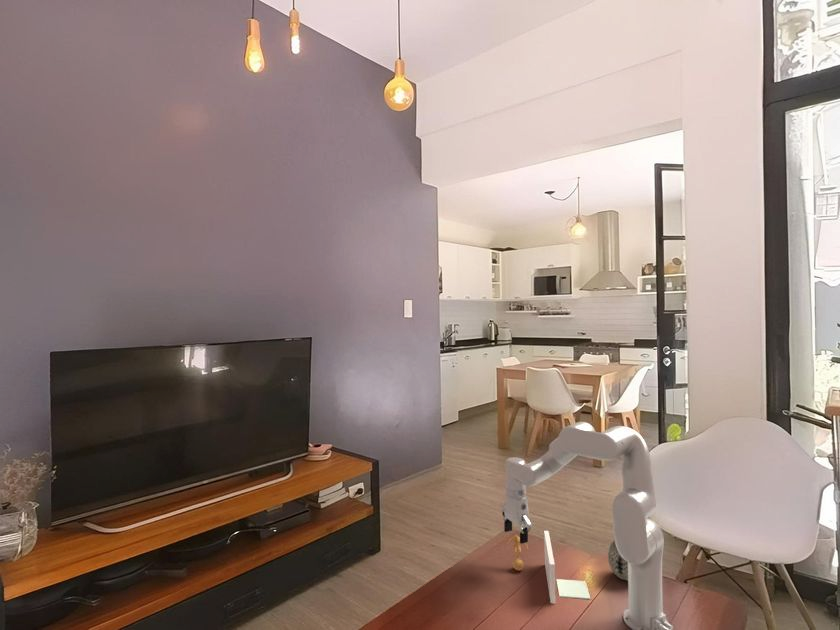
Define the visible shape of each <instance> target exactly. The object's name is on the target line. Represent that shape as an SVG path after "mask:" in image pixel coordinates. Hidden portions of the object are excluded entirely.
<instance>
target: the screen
mask: <svg viewBox="0 0 840 630" xmlns="http://www.w3.org/2000/svg"><path fill="white" fill-rule="evenodd" d="M543 531H544V532H543V538H544V541H543V543H544V544H543V545H544V566H545V574H546V580H547V581H546V582H547V587H548V588H547V589H548V595H549V601H550V604H553V605H554V604H556V571H555V570H556V565H555V559H554V555H553V554H554V552H553V548H552V542H551V537H550V532H549V530H543Z"/></svg>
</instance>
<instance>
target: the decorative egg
mask: <svg viewBox="0 0 840 630" xmlns="http://www.w3.org/2000/svg"><path fill="white" fill-rule="evenodd" d="M607 556H608V557H607V559H608V564H609V567H610V569H611V571H612V572H613V574H614V575H616V577H617V578H619V579H621V580H622V581H627V582H628V562H627V561H625V560H624V559H623V558H622V557H621V555H620V554H619V552H618V550H617V547H616V543H615V539H613V541H611V543H610V545H609V548H608V554H607Z"/></svg>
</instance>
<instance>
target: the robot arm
mask: <svg viewBox="0 0 840 630" xmlns="http://www.w3.org/2000/svg"><path fill="white" fill-rule="evenodd" d="M650 455H651V454H650V450H649V447H648V445H647V443H646V441H645V439H644V438H643V437H642V435H641V434H640V433H638V432H637V431H636V430H634V429H633V428H631V427H629V426H624V425H616V426H611V427H609V428H607V429H606V430H603V431H602V432H599V431H598V432H597V431H596V429H595V428H594V427H593V425H592V424H590V423H588V422H587V421H577V422H574V423H572V424H569V425H567V426H565V427H563V428H562V429H561V430H560V432H559V434H558V437H556V438H555V439H554V440H553V441H551V442H550V443H549V446H548V450H547V452H545V454H543V455H542V456H540V457H539V458H538V459H535V460H533V461H531V462H529V463H528V462H527V463H526V461H525V460H524V459H523V458H520V457H517V456H516V457H513V456H512V457H508V458H507V459H506V460H505V469H504V472H505V473H504V474H505V478H504V479H505V493H504V505H502V506H501V507H500V508H501V511H502V516H503V518H502V519H503V521H504V524H503V525H504V527H503V529H504V532H505V533H508V532H512V531H513V524H514V525H516V526H517V527H518V528H519V531H520V532H519V537H520V541H519V544H525V543H526V544H527V543H528V542H529V536H528V535H529V532H530V531H531V528H532V522H530V512H529V511H530V510H529V502H528V498H527V493H526V492H527V487H534V486H536V485H538V484H541V483H542V482H544V481H546V480H547V479H550V478H551V477H552V476H554V475H555V474H556V473H558V472H559V471H561V469H563V468H564V467H565V466H567V465H568V464H569V463H570V462H571V461H573V460H574V459H575V458H576V457H577V456H579V457H584V458H588V459H593V460H594V459H595V460H597V461H598V460H599V461H603V462H604V461H606V462H608V461H613V460H615V459H618V458H619V457H621V456H622V457H621V458H622V461H621V462H622V463H621V474H622V490H621V492H619V493H617V495H616V496H615V497H614V499H613V502H612V504H611V516H612V517H611V518H612V526H613V527H612V528H613V535H614V540H615V543H616V547H617V550H618V552H619V554H620V555H621V557H622V558H623V559H624V560H625V561H627V562H628V581H627V588H628V589H627V590H628V591H627V592H628V593H627V595H628V596H627V597H628V599H627V601H628V608H627V609H625V610H624V611H623V621H624V624H625V625H626V626H627V627H629V628H630V629H631V630H674V626H673V625H672V624H671V623H669V622H668V620H667V615H666V614H665V613H664V611H663V610H664V608H663V605H664V604H663V554H664V546H665V545H664V544H665V542H664V541H665V539H664V533H663V531H662V529H661V527H660V525H659V524H658V523H657V522H655V521H654V520H653V519H651V518H649V517H650V516H651V515H652V514H654V513H655V510H656V504H657V502H656V493H655V487H654V478H653V473H652V465H651V464H652V463H651V456H650ZM523 527H524V528H523Z"/></svg>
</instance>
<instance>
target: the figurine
mask: <svg viewBox="0 0 840 630" xmlns="http://www.w3.org/2000/svg"><path fill="white" fill-rule="evenodd" d="M512 541H513V543H514V545H512V546H513V552H514V559H513V560H512V567H513V569H514V570H515V571H517V572H518V571H522V570H523V569H524V561H523V560H522V559H521V552H522V549H521V548H522V547H521V545H520V536H518V535H517V534H515V535H514V536H513V537H512V538H510V539H508V540H507V544H506V547H505V550H508V546H509V543H510V542H512ZM524 545H525V546H526V549H527V550H529V547H528V544H527V542H526V543H524ZM517 551H518V557H517Z"/></svg>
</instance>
